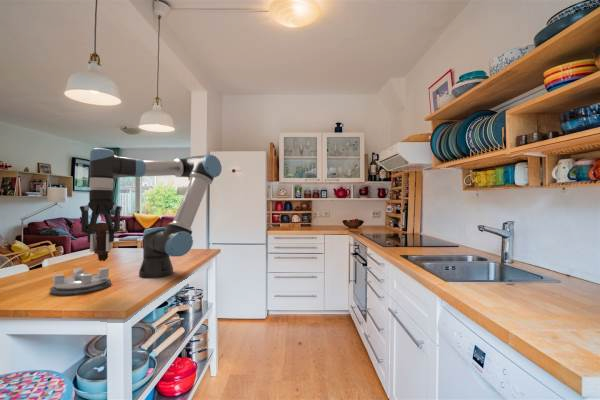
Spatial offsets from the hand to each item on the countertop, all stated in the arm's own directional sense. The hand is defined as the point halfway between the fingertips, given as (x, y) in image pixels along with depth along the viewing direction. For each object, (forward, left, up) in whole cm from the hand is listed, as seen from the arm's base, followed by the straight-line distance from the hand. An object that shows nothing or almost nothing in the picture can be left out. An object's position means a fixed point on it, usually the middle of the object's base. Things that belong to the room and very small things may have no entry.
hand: (100, 250), depth 108 cm
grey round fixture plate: (+12, -13, -15) cm, 24 cm away
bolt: (0, -4, -4) cm, 5 cm away
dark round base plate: (+12, -13, -17) cm, 25 cm away
